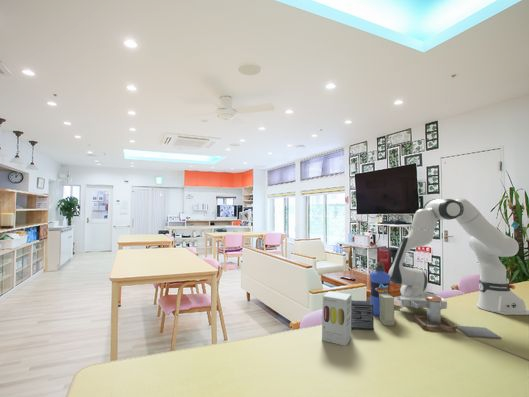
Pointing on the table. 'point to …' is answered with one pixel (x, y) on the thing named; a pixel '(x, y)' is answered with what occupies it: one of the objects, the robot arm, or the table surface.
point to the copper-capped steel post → (433, 310)
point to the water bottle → (378, 286)
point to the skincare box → (386, 309)
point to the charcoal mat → (478, 332)
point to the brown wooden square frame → (446, 328)
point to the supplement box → (336, 318)
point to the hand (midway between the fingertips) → (429, 307)
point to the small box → (362, 315)
